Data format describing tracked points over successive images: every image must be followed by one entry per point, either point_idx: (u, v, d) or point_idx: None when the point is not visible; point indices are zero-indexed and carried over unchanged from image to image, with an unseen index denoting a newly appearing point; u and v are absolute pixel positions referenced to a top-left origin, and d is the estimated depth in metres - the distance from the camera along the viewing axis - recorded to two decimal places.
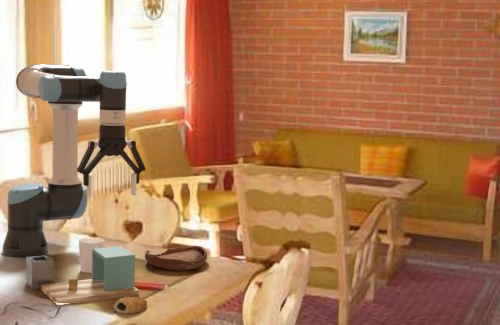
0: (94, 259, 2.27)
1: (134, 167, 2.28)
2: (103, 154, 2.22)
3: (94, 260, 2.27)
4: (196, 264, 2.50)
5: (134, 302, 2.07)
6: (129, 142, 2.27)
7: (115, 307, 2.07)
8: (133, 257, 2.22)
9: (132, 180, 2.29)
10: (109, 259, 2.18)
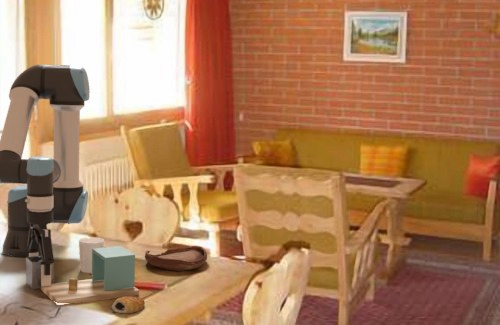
0: (94, 259, 2.27)
1: (42, 257, 2.21)
2: (31, 236, 2.28)
3: (94, 260, 2.27)
4: (196, 264, 2.50)
5: (133, 302, 2.07)
6: None
7: (113, 307, 2.07)
8: (133, 257, 2.22)
9: None
10: (109, 259, 2.18)
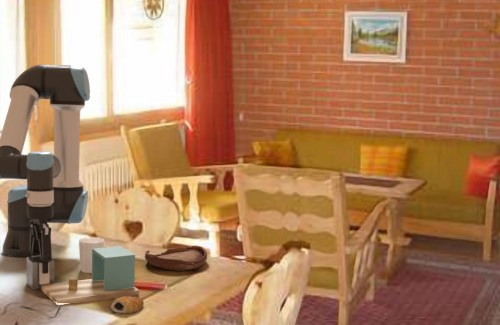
0: (94, 259, 2.27)
1: (40, 255, 2.22)
2: (32, 233, 2.27)
3: (94, 260, 2.27)
4: (196, 264, 2.50)
5: (132, 302, 2.07)
6: (43, 228, 2.21)
7: (112, 307, 2.07)
8: (133, 257, 2.22)
9: None
10: (109, 259, 2.18)
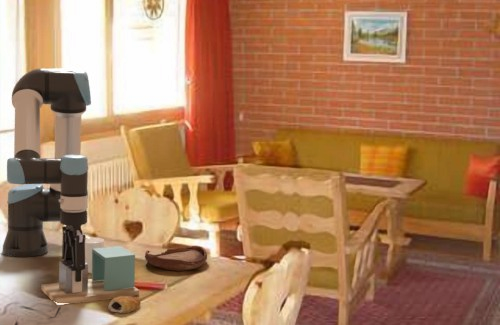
0: (94, 259, 2.27)
1: (73, 262, 2.15)
2: (65, 240, 2.19)
3: (94, 260, 2.27)
4: (196, 264, 2.50)
5: (129, 301, 2.07)
6: (77, 235, 2.13)
7: (109, 307, 2.07)
8: (133, 257, 2.22)
9: None
10: (109, 259, 2.18)
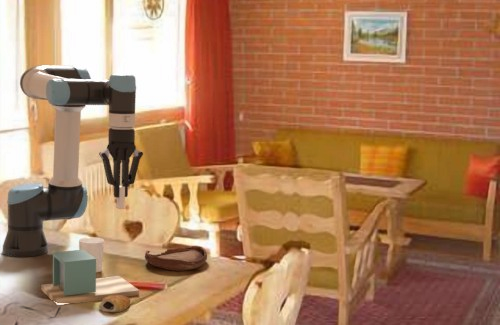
0: (55, 263, 2.21)
1: (126, 178, 2.23)
2: (119, 160, 2.20)
3: (55, 264, 2.21)
4: (196, 264, 2.50)
5: (121, 300, 2.08)
6: (137, 151, 2.24)
7: (101, 306, 2.07)
8: (94, 261, 2.16)
9: None
10: (69, 263, 2.12)
